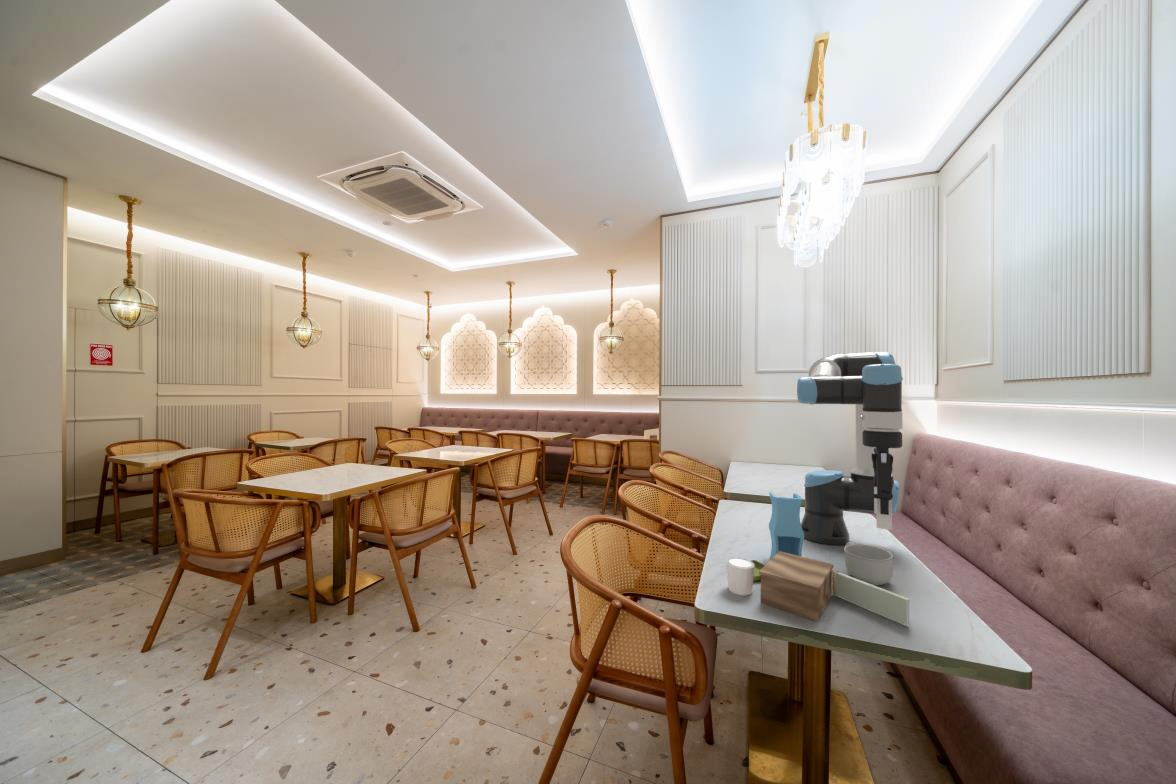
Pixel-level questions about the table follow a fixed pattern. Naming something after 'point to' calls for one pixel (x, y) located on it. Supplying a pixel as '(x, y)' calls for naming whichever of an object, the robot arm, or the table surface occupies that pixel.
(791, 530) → the blue tall holder
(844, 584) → the door
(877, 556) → the grey oval bowl
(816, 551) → the table surface
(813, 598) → the wood grain block
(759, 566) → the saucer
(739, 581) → the white short cylinder
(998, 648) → the table surface
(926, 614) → the table surface
